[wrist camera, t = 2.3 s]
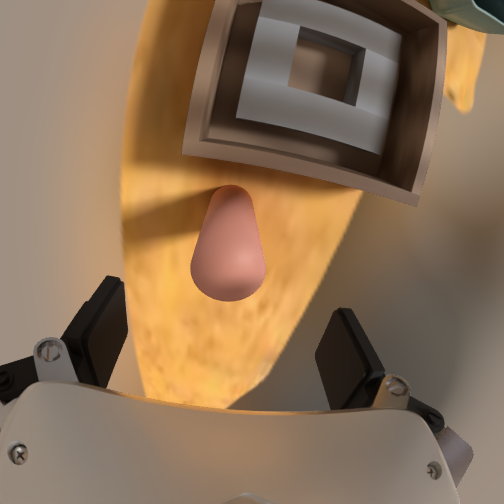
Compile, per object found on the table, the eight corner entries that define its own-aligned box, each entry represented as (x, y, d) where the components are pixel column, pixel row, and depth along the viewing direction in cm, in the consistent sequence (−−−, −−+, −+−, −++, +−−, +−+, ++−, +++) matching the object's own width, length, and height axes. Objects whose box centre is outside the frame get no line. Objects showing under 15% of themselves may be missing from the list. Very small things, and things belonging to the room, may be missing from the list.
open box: (236, -21, 15) (236, -58, 9) (406, 35, 17) (447, 21, 11) (196, 146, 22) (181, 154, 16) (377, 186, 25) (416, 207, 19)
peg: (212, 181, 24) (194, 230, 13) (256, 188, 25) (273, 242, 14) (206, 222, 26) (187, 296, 15) (248, 228, 26) (257, 305, 15)
